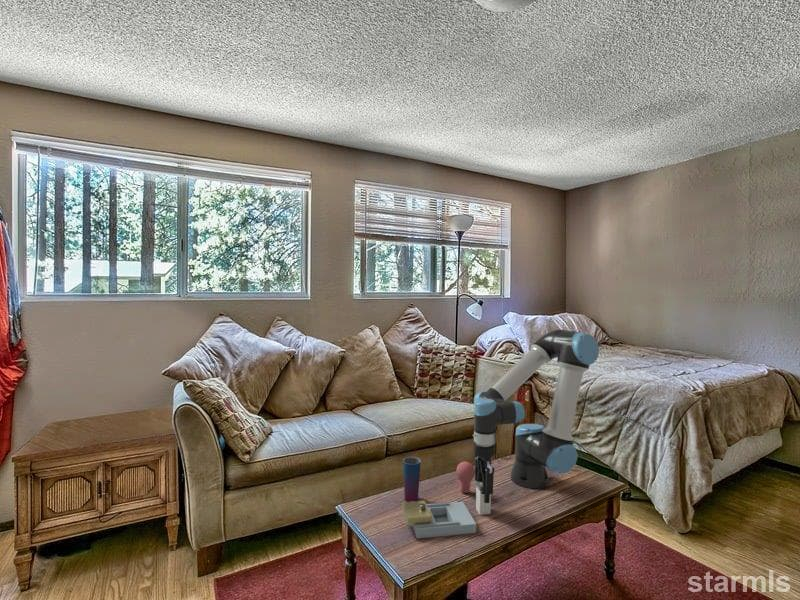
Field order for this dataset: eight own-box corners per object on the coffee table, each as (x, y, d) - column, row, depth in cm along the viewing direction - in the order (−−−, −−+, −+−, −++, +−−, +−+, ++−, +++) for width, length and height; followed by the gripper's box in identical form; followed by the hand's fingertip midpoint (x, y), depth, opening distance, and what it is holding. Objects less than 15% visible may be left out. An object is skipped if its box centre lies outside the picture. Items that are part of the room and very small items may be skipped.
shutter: (424, 507, 146) (424, 497, 145) (431, 523, 136) (431, 512, 136) (402, 509, 144) (402, 498, 144) (407, 525, 134) (407, 514, 134)
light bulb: (474, 498, 159) (474, 467, 158) (455, 495, 160) (456, 465, 160) (474, 489, 166) (475, 459, 165) (456, 487, 167) (457, 457, 166)
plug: (486, 507, 152) (486, 480, 151) (490, 513, 148) (491, 485, 147) (475, 508, 151) (476, 481, 151) (479, 514, 147) (480, 486, 147)
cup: (406, 505, 153) (407, 465, 152) (399, 496, 159) (400, 458, 158) (423, 501, 155) (423, 462, 155) (415, 493, 162) (416, 455, 161)
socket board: (462, 509, 150) (462, 500, 150) (476, 532, 136) (476, 522, 136) (408, 514, 147) (408, 504, 147) (416, 538, 133) (416, 527, 133)
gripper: (466, 434, 156) (465, 495, 157) (483, 453, 139) (481, 521, 140) (485, 433, 157) (484, 494, 158) (504, 451, 141) (502, 519, 141)
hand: (483, 506), depth 149 cm, fingers closed on plug, 4 cm apart
